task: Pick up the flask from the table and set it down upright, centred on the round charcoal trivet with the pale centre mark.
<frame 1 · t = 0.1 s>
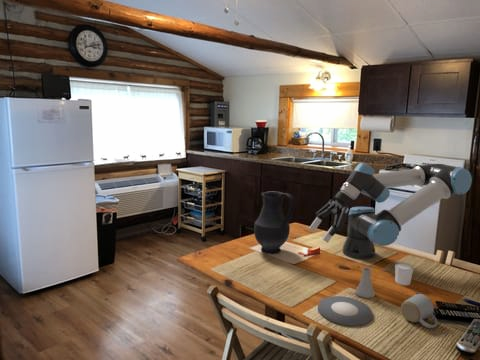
hand: (317, 235, 161), 15 cm above the table, tool tilted 35°, fingers open, 13 cm apart
ceramic mug: (419, 321, 125), on the table
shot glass: (402, 282, 153), on the table
pitcher: (273, 251, 184), on the table
flask: (364, 294, 142), on the table
trivet: (344, 311, 129), on the table
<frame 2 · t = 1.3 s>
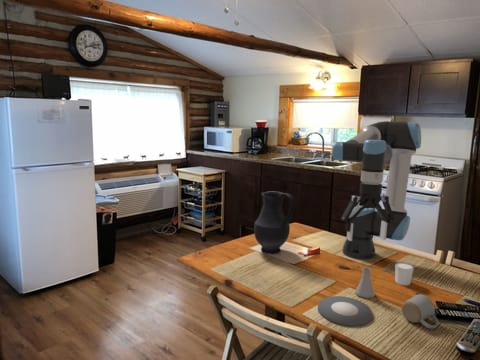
hand: (366, 239, 139), 21 cm above the table, tool pointing down, fingers open, 13 cm apart
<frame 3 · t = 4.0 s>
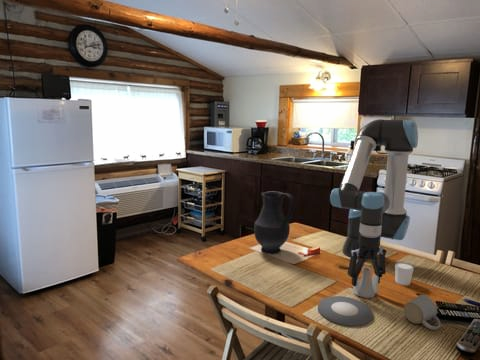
hand: (364, 292, 142), 1 cm above the table, tool pointing down, fingers closed on flask, 7 cm apart
flask: (364, 294, 142), on the table, touching gripper
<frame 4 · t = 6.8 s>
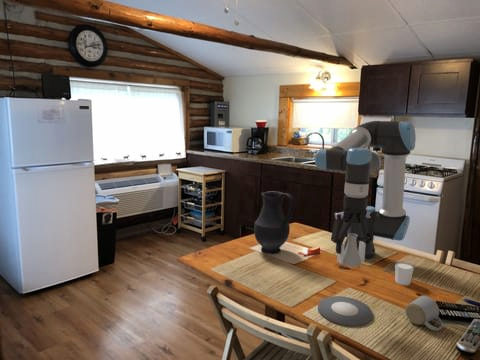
hand: (350, 261, 127), 18 cm above the table, tool pointing down, fingers closed on flask, 7 cm apart
flask: (350, 263, 128), point 17 cm above the table, touching gripper
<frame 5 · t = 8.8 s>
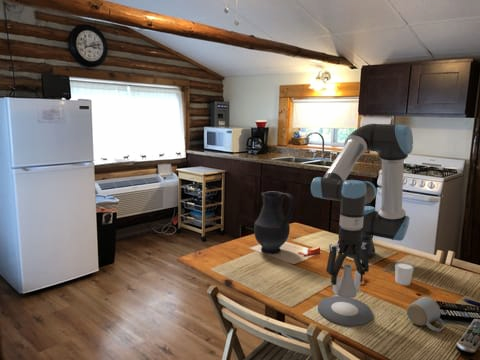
hand: (345, 291, 128), 7 cm above the table, tool pointing down, fingers closed on flask, 7 cm apart
flask: (345, 294, 128), point 7 cm above the table, touching gripper
when the fingers open (3 cm above the table, at t = 10.1 s): flask drops 1 cm, resting on trivet.
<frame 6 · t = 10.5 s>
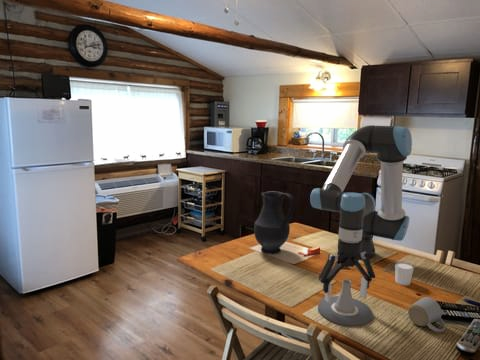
hand: (345, 299, 129), 5 cm above the table, tool pointing down, fingers open, 13 cm apart
flask: (344, 309, 129), point 1 cm above the table, touching trivet
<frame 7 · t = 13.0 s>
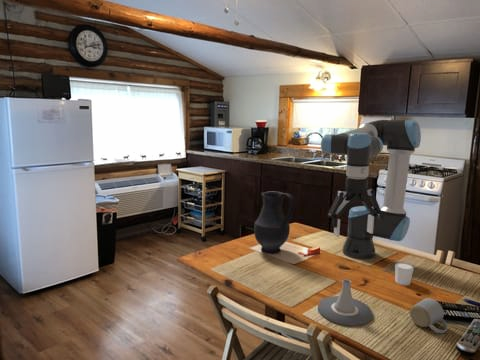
hand: (353, 234, 137), 24 cm above the table, tool pointing down, fingers open, 13 cm apart
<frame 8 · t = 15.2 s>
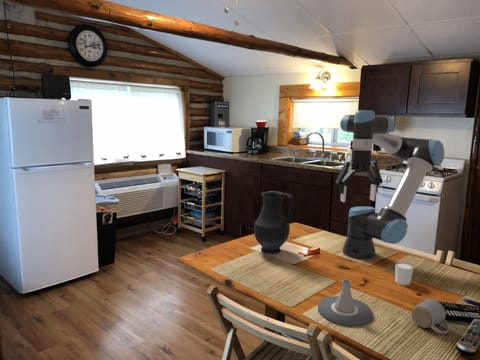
hand: (357, 200, 155), 32 cm above the table, tool pointing down, fingers open, 13 cm apart
at the end: flask 0.1 cm off-centre on the trivet, point 0.9 cm above the trivet's base; flask tilted 0°; the gripper is holding nothing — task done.
